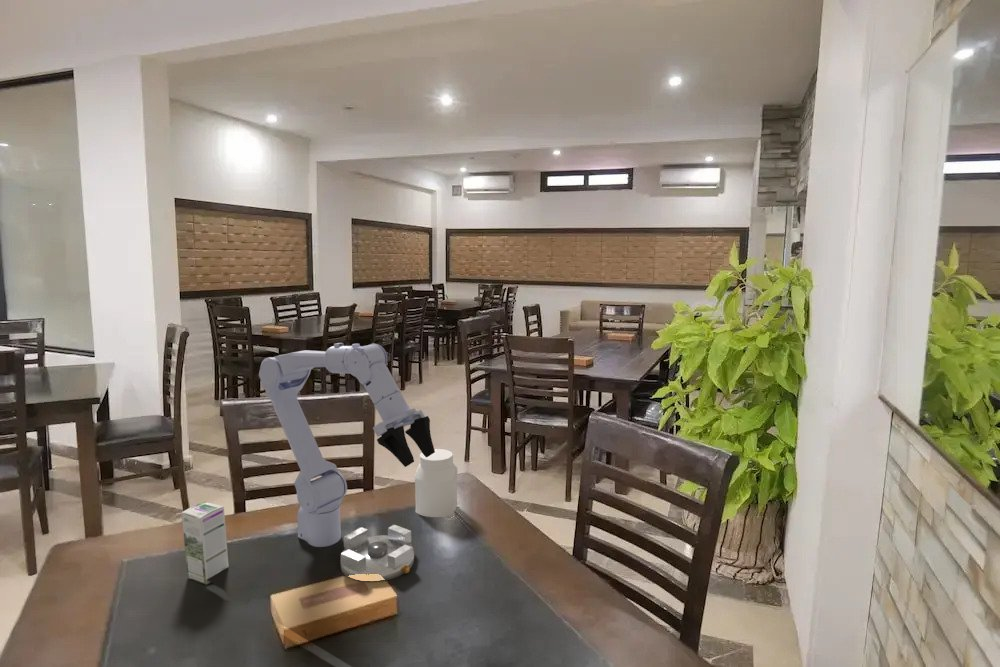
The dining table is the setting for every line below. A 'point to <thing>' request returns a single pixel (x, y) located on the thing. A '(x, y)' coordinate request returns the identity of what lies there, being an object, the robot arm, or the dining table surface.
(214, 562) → the syrup box
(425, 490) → the jar
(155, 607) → the dining table surface
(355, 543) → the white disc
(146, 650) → the dining table surface
